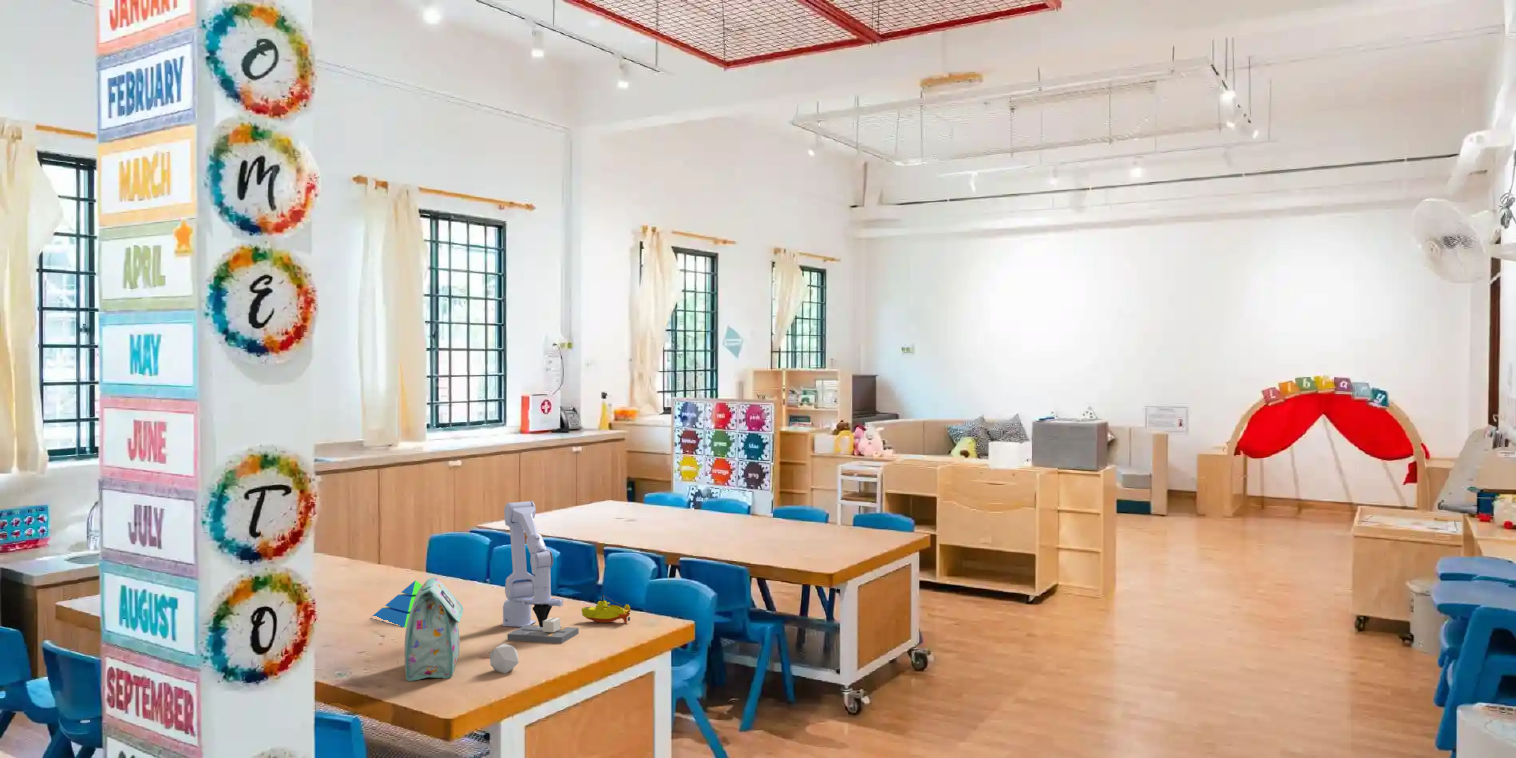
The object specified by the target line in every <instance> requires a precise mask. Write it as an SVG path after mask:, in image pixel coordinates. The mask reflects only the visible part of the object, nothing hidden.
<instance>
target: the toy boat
mask: <svg viewBox="0 0 1516 758" xmlns="http://www.w3.org/2000/svg"><path fill="white" fill-rule="evenodd" d="M604 598H607V600H610V601H612V602H613V603H616V604H617V605H614V604H611V602H607V600H605V599H604ZM630 612H631V607H630V605H629V604H625V605H624V606H623V605H622V604H620V603H618V602H616V601H614V600H612V599H611V598H609V597H607V596H605V595H604V594H602V595H601V596H600V597H599V601H598V602H597V603H596V606H586V607H582V608H581V613H582V616H583V618H584V617H585V619H587V620H589V621H593V622H596V623H613V622H615V621H617V620H620V619H622V620H623V622H624V624H628V622H630V621H631V617H630V614H631V613H630Z"/></svg>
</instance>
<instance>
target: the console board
mask: <svg viewBox="0 0 1516 758" xmlns="http://www.w3.org/2000/svg"><path fill="white" fill-rule="evenodd" d="M579 630H580V629H579V627H575V626H574V627H572V626H571V627H570V626H560V629H559V630H557V631H555V632H543V627H540V626H539V624H538V625H536V624H531V625H525V626H523V627H518V628H517V629H515V630H513V631H511V632H509V633H507V634H506V635H507V636H506V637H507V641H516V642H517V641H518V642H519V641H520V642H535V643H538V642H539V643H546V644H547V643H551V644H563V643H565V642H567V641H568V640H570V639H571V638H573V637H576V636H577V635H578V634H579Z"/></svg>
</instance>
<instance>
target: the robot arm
mask: <svg viewBox="0 0 1516 758" xmlns="http://www.w3.org/2000/svg"><path fill="white" fill-rule="evenodd" d="M536 511H537V510H536V504H535V503H534V501H533V500H529V501H520V502H519V501H518V502H517V501H516V502H507V503H506V504H505V506H504V510H503V513H504V524H505V526H507V527H509V533H510V549H511V562H512V563H511V564H512V573H510V574H509V575H508V576H507V577H506V579H505V586H504V593H505V597H506V600H505V601H503V602H504V603H503V605H502V625H501V626H503V627H517V628H521V627H523V626H525V625H534V623H536V622H538V625H539V626H540V627H543V621H544V620H546V619H548V618H549V614H550V611H551V609H552V608H553V607H559V608H560V607H563V606H564V600H563V599H558V598H552V595H551V594H552V590H551V587H552V586H551V581H552V580H551V577H552V576H551V568H552V567H553V565H554V556H553V552H552V551H551V550H550V549H549V548H548V547H547V546H546V543H545V542H544V541H545V540H544V538H543V536H542V534H539V533H538V530H537V528H536V527H537V526H536V523H535V516H536ZM525 535H526V537H527V538H526V539H525ZM525 540H526V541H525ZM526 546H527V549H528V552H529V554H530V559H529V560H530V567H531V573H532V574H531V573H530V572H528V570H527V555H526ZM532 606H533V607H532ZM532 611H533V612H534V614H535V617H536V619H537V621H536V620H533V619H532Z"/></svg>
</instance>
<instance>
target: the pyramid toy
mask: <svg viewBox="0 0 1516 758" xmlns="http://www.w3.org/2000/svg"><path fill="white" fill-rule="evenodd" d="M422 585H423V584H421V583H420V582H418V581H417V580H414V581H413V582H412V583H410V584H409V585H408V586H406V588H404V589H403V590H401V592H400V593H398V594H397V595H396V596H394V598H392V599H391V600H390V601H388V603H386V604H385V605H384V606H385V607H381V608H380V609H379V610H377V612H375V613H373V615H372V616H377V617H379V618H381V619H383V620H388V621H389V622H392V623H394V624H398V625H400V626H402V627H401V628H403V627H404V628H406V627H407V623H408V619H409V615H410V612H411V609H412V606H413V603H414V600H415V597H416V595H417V592H418V591H419V589H420V588H421V586H422ZM400 626H399V627H400Z"/></svg>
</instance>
